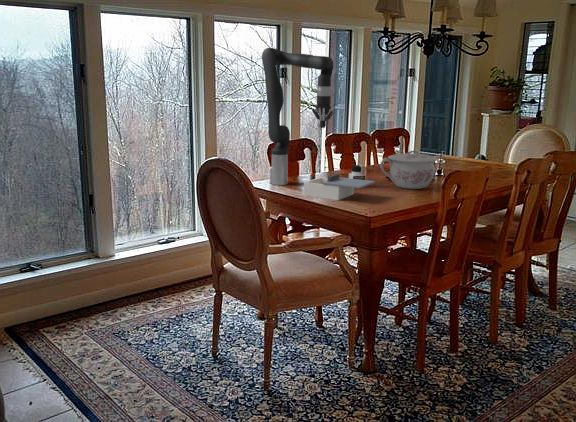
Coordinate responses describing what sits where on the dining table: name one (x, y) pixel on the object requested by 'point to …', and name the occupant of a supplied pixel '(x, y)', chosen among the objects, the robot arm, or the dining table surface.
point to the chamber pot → (410, 169)
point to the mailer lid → (347, 182)
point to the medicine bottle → (357, 173)
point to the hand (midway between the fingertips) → (322, 127)
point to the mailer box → (326, 190)
